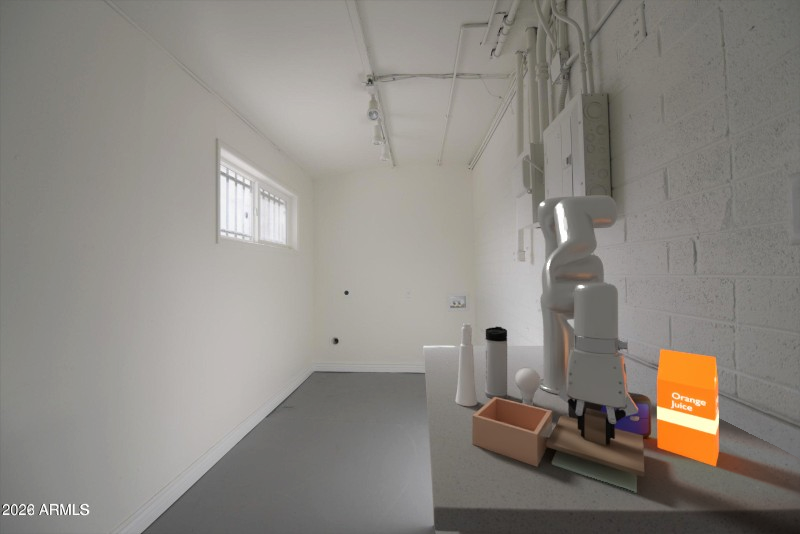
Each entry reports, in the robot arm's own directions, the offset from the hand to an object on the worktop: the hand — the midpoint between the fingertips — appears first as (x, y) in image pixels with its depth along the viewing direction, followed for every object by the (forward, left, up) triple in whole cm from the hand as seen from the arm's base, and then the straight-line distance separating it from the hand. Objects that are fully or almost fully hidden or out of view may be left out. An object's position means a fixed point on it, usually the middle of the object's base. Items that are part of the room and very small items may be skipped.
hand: (595, 436), depth 63 cm
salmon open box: (+4, -15, -4) cm, 16 cm away
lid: (0, 0, -2) cm, 2 cm away
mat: (0, 0, -4) cm, 4 cm away
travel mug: (-19, -27, -4) cm, 33 cm away
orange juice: (-15, +15, -4) cm, 22 cm away
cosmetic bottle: (-9, -32, -4) cm, 34 cm away
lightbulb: (-15, -17, -4) cm, 23 cm away
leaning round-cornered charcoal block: (-15, +1, -4) cm, 16 cm away
